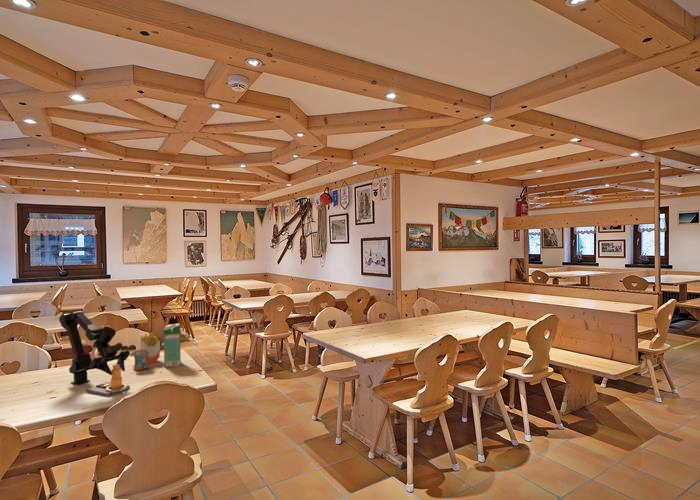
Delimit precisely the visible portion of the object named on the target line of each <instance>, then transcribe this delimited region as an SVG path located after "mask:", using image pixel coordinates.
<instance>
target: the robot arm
mask: <svg viewBox="0 0 700 500" xmlns="http://www.w3.org/2000/svg"><path fill="white" fill-rule="evenodd" d="M58 321H59V323H60V325H61V328H63V329H65V330H66V332H67V335H68V339H69V342H70V346H71V350H72V353H73V357H72V360H71V365H70V367H69V369H68V370H69V373H70V374H73V381H71V382H70V384H72V385H79V386H80V385H83V384H85V383H88V382H89V383H90V381H91V379H90V380H89V379H88V371H90V370H95V369H97V370H100V371H102V372H104V373H106V374H108V375H110V376H112V369H111V368H110V367H109V365H108V362H112V361H115V360H116V365H120V369H121V372H125V371H126V368H125V367H126V366H125V361H126V360H127V359H128V358H129V356H131V352H130V351H129V350H122V351H121V349H123V348H124V346H123V344H122V342H120V341H119V342H117V343H116V344H114V345H110V344H109V343H110V342H112V341H113V340H112V339H114V337H115V335H116V333H117V332H116V330H115V329H114V328H112V327H109V325H108V326H104V327H101V326H100V325H96V324H94V323H93V322H92V321H91V320H90V319H89V318H88V317H87V316H86V315H85V313H84V311H81V310H78V311H73V312H69V313H68V312H67V313H63V314H61V315H60V316H59V319H58ZM78 326H80V327H81V329H83V330H84V332H85V336H86V339H87V340H89V342H90V341H94V342H93V344H92V348H93V349H94V348H96V350H97V352H98V354H97V355H98V357H95V358H93V359H92V358H91V355H90V353H89V352H86V351H85V349H84V346H83V342H82V339H81V335H80V332H79V328H78ZM119 351H120V352H119ZM118 352H119V354H118Z"/></svg>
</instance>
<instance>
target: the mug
mask: <svg viewBox="0 0 700 500" xmlns="http://www.w3.org/2000/svg"><path fill="white" fill-rule="evenodd" d="M131 353H132V356H133V359H134V365H133V368H132V369H133V370H134V371H144V370H146V369H148V368H149V367H150V364H148V362H149V361H150V359H151V355H150V354H148V353H149V350H147V349H142V350H140V349H135V350H134V351H132V352H131ZM148 355H149V356H150V359H149V361H148V362H147V357H148Z"/></svg>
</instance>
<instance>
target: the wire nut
mask: <svg viewBox="0 0 700 500" xmlns="http://www.w3.org/2000/svg"><path fill="white" fill-rule="evenodd" d="M111 372H112V375H111V378H110V382H111V390H114V389H120V388H122V384H123V376H122V370H121V368H120V365H117V364H114V365H112V369H111Z"/></svg>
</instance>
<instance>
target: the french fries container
mask: <svg viewBox="0 0 700 500" xmlns="http://www.w3.org/2000/svg"><path fill="white" fill-rule="evenodd" d="M139 341H140V343H139V344H140V345H139V346H140V349H139V350H142V349H147V350H149V353H148V354H150V355H151V359H150V356H149V355H148V357H147V362H148V361H149V359H150V361H149V362H148V365H150V364H153V363H157V362H158V360H159V358H160V357H161V355H160V354H161V350H160V340H159V338H158V336H157V335H155V334H154V332H151V333H148V334H146V333H145V334H144V336H143V335H142V336H140V340H139Z"/></svg>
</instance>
